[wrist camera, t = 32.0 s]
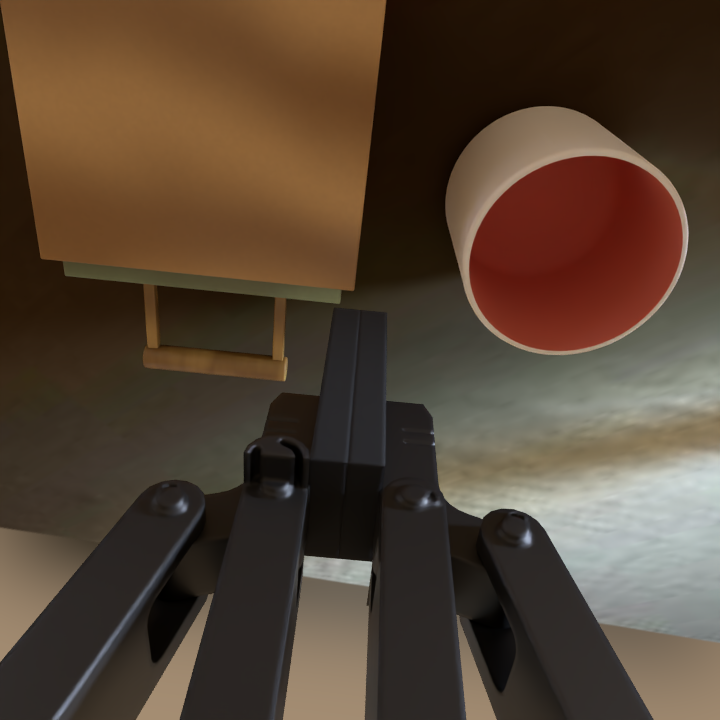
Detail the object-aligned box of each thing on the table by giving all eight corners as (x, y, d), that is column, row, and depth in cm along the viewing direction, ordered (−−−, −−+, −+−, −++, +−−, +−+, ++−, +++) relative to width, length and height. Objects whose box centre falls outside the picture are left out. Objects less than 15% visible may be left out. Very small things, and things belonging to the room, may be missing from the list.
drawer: (336, 341, 43) (329, 413, 36) (126, 321, 42) (80, 390, 36) (384, -144, 30) (387, -171, 23) (80, -184, 29) (-6, -223, 22)
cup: (426, 128, 37) (442, 182, 28) (612, 78, 35) (688, 119, 27) (460, 288, 42) (482, 375, 33) (624, 250, 40) (691, 331, 32)
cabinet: (358, 221, 40) (354, 291, 31) (110, 194, 39) (40, 259, 31) (404, -205, 29) (415, -265, 21) (68, -250, 29) (-54, -329, 21)
